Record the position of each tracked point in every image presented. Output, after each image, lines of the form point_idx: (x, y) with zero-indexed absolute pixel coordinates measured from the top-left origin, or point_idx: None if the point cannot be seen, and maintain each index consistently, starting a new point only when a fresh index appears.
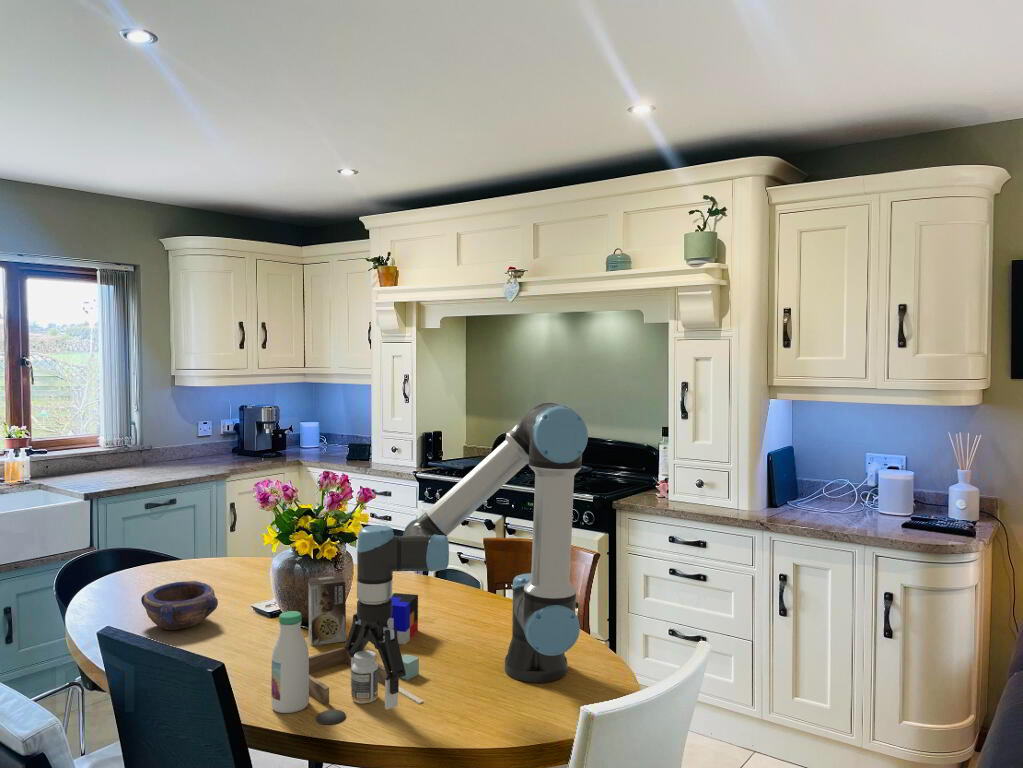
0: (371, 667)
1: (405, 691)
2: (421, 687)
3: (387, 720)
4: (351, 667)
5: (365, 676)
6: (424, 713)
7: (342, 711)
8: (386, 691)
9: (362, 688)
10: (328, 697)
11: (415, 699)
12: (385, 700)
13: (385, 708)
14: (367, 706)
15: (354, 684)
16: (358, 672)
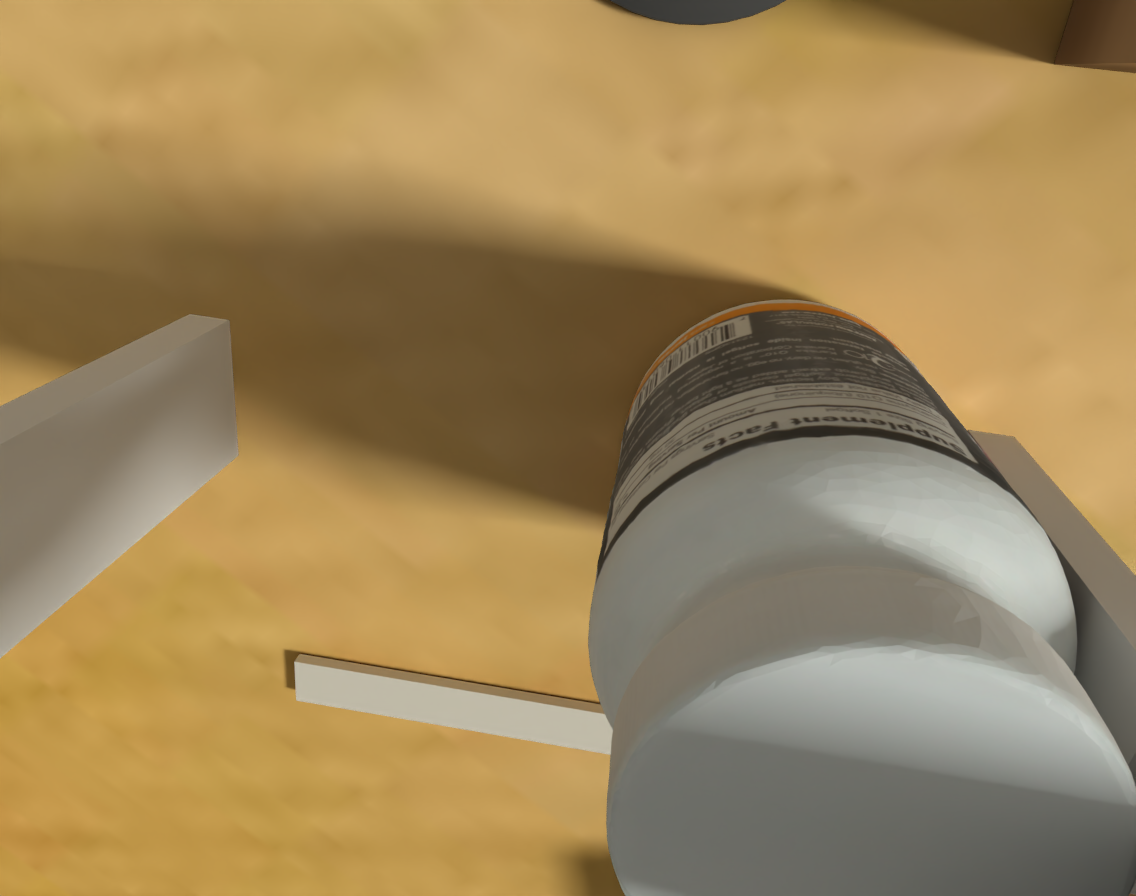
0: (617, 671)
1: (552, 735)
2: (538, 850)
3: (203, 268)
4: (1120, 577)
5: (638, 495)
6: (127, 567)
7: (696, 18)
8: (53, 387)
9: (674, 389)
10: (1095, 50)
11: (364, 683)
12: (164, 349)
13: (213, 319)
14: (604, 336)
15: (812, 362)
16: (743, 458)
